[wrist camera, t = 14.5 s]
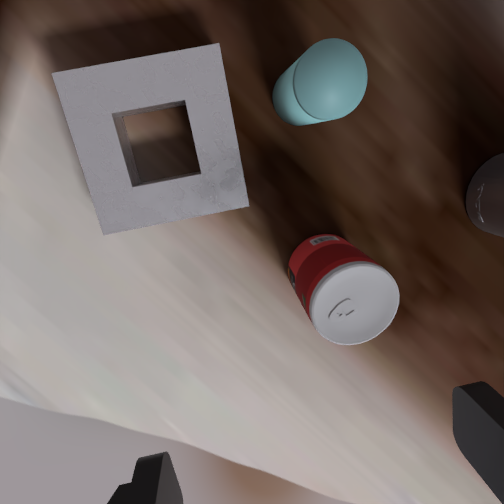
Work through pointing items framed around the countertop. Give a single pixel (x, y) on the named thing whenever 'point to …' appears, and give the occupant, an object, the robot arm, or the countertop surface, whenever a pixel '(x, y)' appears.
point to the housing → (118, 145)
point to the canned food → (342, 289)
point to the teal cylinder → (321, 84)
